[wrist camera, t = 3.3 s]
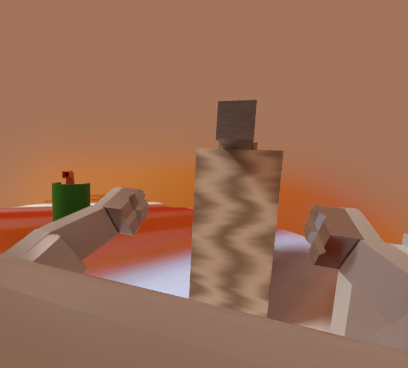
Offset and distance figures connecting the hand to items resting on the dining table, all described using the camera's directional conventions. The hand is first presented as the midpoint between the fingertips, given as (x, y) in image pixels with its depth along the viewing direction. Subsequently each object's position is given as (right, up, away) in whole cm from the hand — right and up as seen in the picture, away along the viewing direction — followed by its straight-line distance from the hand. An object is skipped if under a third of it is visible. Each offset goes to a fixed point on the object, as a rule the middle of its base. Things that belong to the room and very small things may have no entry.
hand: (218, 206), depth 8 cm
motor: (-46, -15, +49) cm, 69 cm away
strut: (+5, +6, +20) cm, 22 cm away
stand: (+5, -19, +27) cm, 34 cm away
